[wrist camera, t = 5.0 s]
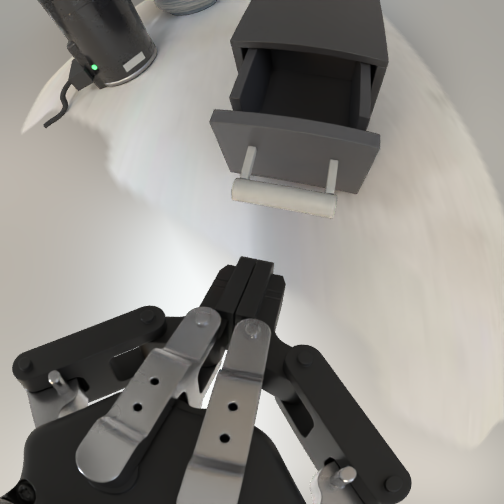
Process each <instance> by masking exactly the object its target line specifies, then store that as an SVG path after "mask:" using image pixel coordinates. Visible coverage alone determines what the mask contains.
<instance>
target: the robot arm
mask: <svg viewBox="0 0 504 504" xmlns="http://www.w3.org/2000/svg"><path fill="white" fill-rule="evenodd" d="M38 2H39V3H40V4H41V5H42V7H43V8H44V9H45V11H46V12H47V13H48V15H49V16H50V17H51V18H52V20H53V21H54V22H55V23H56V25H57V26H58V27H59V28H60V30H61V31H62V33H63V34H64V35H65V36H66V38H67V39H68V44H67V49H68V50H69V52H70V53H71V54H72V55H73V57H74V58H75V59H73V60H72V64H71V69H70V74H69V79H68V81H67V83H66V84H65V85H64V87H63V89H62V91H61V94H60V100H61V102H62V104H63V108H62V110H61V111H60V113H59V114H57V115H56V116H55V117H53V118H51V119H50V120H49V121H47V122H46V123H45V124H44V127H45V128H47V127H48V126H50V125H51V124H52V123H54V122H56V121H57V120H58V119H60V118H61V117H62V116H63V115H64V114H65V112H66V111H67V108H68V102H67V100H66V97H65V95H66V92H67V90H68V88H69V86H70V85H71V84H72V85H73V86H74V87H75V88H76V89H77V90H78V91H79V90H81V89H83V88H84V87H86V86H88V85H89V84H91V83H93V82H94V83H95V84H96V85H97V86H98V88H99V89H102V88H103V87H106V86H108V87H111V86H117V85H120V84H123V83H126V82H128V81H130V80H132V79H133V78H135V77H136V76H138V75H139V74H141V73H142V72H143V71H144V70H145V69H147V68H148V67H149V65H150V64H151V63H152V62H153V60H154V59H155V57H156V54H157V49H156V47H155V45H154V43H153V42H152V40H151V38H150V36H149V35H148V33H147V31H146V29H145V27H144V25H143V23H142V21H141V19H140V17H139V15H138V13H137V11H136V9H135V7H134V5H133V4H132V2H131V0H38ZM273 269H274V263H273V262H268V261H263V260H257V259H253V258H248V257H243V256H241V257H240V259H239V261H238V263H237V265H236V266H232V265H227V266H225V267H224V268H222V269H221V270H220V271H219V273H218V275H217V277H216V279H215V280H214V282H213V284H212V286H211V287H210V289H209V291H208V292H207V294H206V296H205V298H204V299H203V301H202V303H201V305H200V307H198V308H194V309H192V310H191V311H189V312H188V313H187V315H186V316H183V317H165V314H164V312H163V311H162V310H161V309H160V308H158V307H156V306H144V307H141V308H138V309H136V310H133V311H131V312H129V313H126V314H123V315H120V316H118V317H115V318H113V319H110V320H107V321H105V322H102V323H100V324H97V325H95V326H92V327H89V328H87V329H84V330H81V331H79V332H76V333H74V334H71V335H68V336H66V337H63V338H61V339H58V340H56V341H53V342H50V343H47V344H45V345H42V346H39V347H37V348H34V349H31V350H29V351H26V352H24V353H22V354H20V355H19V356H18V357H17V358H16V359H15V361H14V363H13V367H12V370H13V374H14V376H15V377H16V378H17V379H18V381H19V382H20V383H21V384H22V385H23V387H24V389H25V390H26V391H27V393H28V398H29V403H30V407H31V411H32V415H33V419H34V423H35V427H36V429H34V431H32V432H31V434H30V435H29V436H28V438H27V440H26V443H25V447H24V462H23V470H22V474H21V478H20V480H19V482H18V483H17V485H16V486H15V487H14V488H13V489H11V490H10V491H9V492H8V493H6V494H5V495H3V496H2V497H0V504H306V502H305V500H304V499H303V497H302V495H301V493H300V491H299V490H298V488H297V486H296V484H295V482H294V480H293V478H292V477H291V475H290V473H289V471H288V469H287V467H286V465H285V463H284V461H283V459H282V458H281V455H280V454H279V452H278V450H277V448H276V446H275V445H274V443H273V442H272V440H271V439H270V438H269V437H268V436H267V435H266V434H265V433H264V432H263V431H261V430H260V429H258V428H257V427H255V426H254V424H255V419H256V414H257V409H258V404H259V399H260V393H261V389H263V390H265V391H267V392H268V393H270V394H272V395H273V396H275V399H276V402H277V404H278V405H279V407H280V409H281V410H282V412H283V414H284V416H285V417H286V419H287V421H288V422H289V424H290V426H291V427H292V429H293V431H294V433H295V434H296V436H297V438H298V439H299V441H300V443H301V444H302V446H303V447H304V449H305V451H306V452H307V454H308V455H309V457H310V459H311V460H312V462H313V464H314V465H315V467H316V469H317V470H318V472H317V473H316V474H315V475H314V476H313V478H312V479H311V482H310V491H311V494H312V496H313V504H396V503H398V502H400V501H402V500H403V499H404V498H405V497H406V496H407V495H408V493H409V491H410V489H411V477H410V474H409V473H408V471H407V470H406V469H405V467H404V466H403V465H402V463H401V462H400V461H399V459H398V458H397V457H396V455H395V454H394V452H393V451H392V450H391V448H390V447H389V446H388V444H387V443H386V442H385V440H384V439H383V437H382V436H381V435H380V433H379V432H378V431H377V429H376V428H375V427H374V425H373V424H372V423H371V421H370V420H369V418H368V417H367V416H366V414H365V413H364V412H363V410H362V409H361V408H360V406H359V405H358V403H357V402H356V401H355V399H354V398H353V397H352V395H351V394H350V393H349V391H348V390H347V389H346V387H345V386H344V384H343V383H342V382H341V380H340V379H339V377H338V376H337V375H336V373H335V372H334V371H333V369H332V368H331V367H330V365H329V364H328V362H327V361H326V360H325V358H324V357H323V356H322V354H321V353H320V352H319V351H318V350H317V349H315V348H314V347H312V346H309V345H297V346H294V347H291V346H289V345H287V344H285V343H283V342H282V341H281V340H280V339H279V338H278V337H277V335H276V333H275V329H276V326H277V322H278V318H279V314H280V310H281V306H282V301H283V295H284V290H285V285H286V284H285V281H284V278H283V276H280V275H275V274H273ZM136 347H137V348H136ZM134 348H135V349H134ZM131 349H133V350H131ZM129 350H130V351H129ZM225 350H228V351H227V354H226V358H225V361H224V365H223V368H222V370H221V369H220V370H219V372H218V374H217V377H216V381H215V384H214V388H213V390H212V394H211V397H210V400H209V404H208V407H207V409H201V405H202V401H203V398H204V396H205V394H206V392H207V390H208V388H209V386H210V384H211V382H212V381H213V379H214V377H215V375H216V373H217V371H218V369H219V367H220V365H221V359H222V357H223V354H224V352H225ZM127 351H128V352H127ZM124 352H125V353H124ZM122 353H123V354H122ZM119 354H120V355H119ZM117 355H118V356H117ZM114 356H116V357H114ZM123 388H125V389H124V390H123V392H119V393H117V394H114V395H112V396H110V397H108V398H106V399H103V400H101V401H99V402H96V403H94V404H92V405H90V406H88V403H89V402H91V401H94V400H97V399H99V398H102V397H104V396H107V395H109V394H112V393H114V392H116V391H119V390H121V389H123Z"/></svg>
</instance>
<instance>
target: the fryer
mask: <svg viewBox="0 0 504 504" xmlns="http://www.w3.org/2000/svg"><path fill="white" fill-rule="evenodd" d="M230 42H231V46H232V50H233V54H234V58H235V62H236V66H237V70H238V74H239V71H240V69H241V66H242V64H243V61H244V59H245V56H246V54H247V51H248V49H249V48H264V49H278V50H289V51H298V52H307V53H314V54H321V55H327V56H333V57H339V58H344V59H349V60H354V61H359V62H363V63H368V64H370V77H371V106H370V117H371V114H372V111H373V108H374V105H375V102H376V99H377V96H378V93H379V90H380V87H381V84H382V81H383V78H384V75H385V72H386V68H387V65H388V62H389V61H388V52H387V43H386V36H385V29H384V22H383V16H382V10H381V5H380V0H251V2H250V4H249V6H248V8H247V9H246V11H245V13H244V15H243V17H242V19H241V21H240V23H239V24H238V26H237V28H236V30H235V32H234V34H233V36H232V38H231V40H230Z"/></svg>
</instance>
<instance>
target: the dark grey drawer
mask: <svg viewBox="0 0 504 504" xmlns="http://www.w3.org/2000/svg"><path fill="white" fill-rule="evenodd" d="M229 98H230V102H231V105H232V109H233V111H231V110H214V111H213V114H212V116H211V119H210V125H211V127H212V129H213V132H214V134H215V136H216V139H217V141H218V143H219V146H220V148H221V151H222V153H223V155H224V158H225V160H226V162H227V165H228V167H229V169H230V172H235V173H241V175H240V178H236V179H235V180H234V182H233V186H232V192H231V196H232V200H234V201H240V202H246V203H252V204H257V205H263V206H269V207H274V208H280V209H285V210H291V211H296V212H301V213H306V214H312V215H317V216H322V217H327V218H332V219H333V217H334V213H335V209H336V203H337V196H336V195H334V191H335V190H339V191H344V192H349V193H353V194H357V193H358V191H359V189H360V187H361V185H362V183H363V181H364V179H365V177H366V175H367V173H368V171H369V169H370V167H371V165H372V163H373V161H374V159H375V157H376V155H377V153H378V151H379V149H380V134H376V133H372V132H368V131H366V129H367V126H368V123H369V121H370V106H371V77H370V64H368V63H363V62H359V61H354V60H349V59H344V58H339V57H333V56H327V55H321V54H314V53H307V52H298V51H289V50H278V49H264V48H249V49H248V51H247V54H246V56H245V59H244V61H243V64H242V66H241V69H240V71H239V74H238V76H237V79H236V81H235V84H234V87H233V89H232V92H231V95H230V97H229ZM250 175H256V176H262V177H269V178H275V179H281V180H287V181H292V182H298V183H303V184H309V185H314V186H319V187H324V188H326V190H325V193H322V192H317V191H312V190H306V189H301V188H295V187H290V186H284V185H278V184H272V183H266V182H260V181H254V180H249V179H250Z"/></svg>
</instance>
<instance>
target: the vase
mask: <svg viewBox="0 0 504 504" xmlns="http://www.w3.org/2000/svg"><path fill="white" fill-rule="evenodd" d="M216 1H217V0H154V2H155V4H156V6H157V7H158V8H159V9H161V10H163V11H166V12H169V13H170V14H173V15H187V14H192V13H195V12H199V11H201V10H204V9H206V8H208V7H210V6H211V5H213V4H214V3H215V2H216Z"/></svg>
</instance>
